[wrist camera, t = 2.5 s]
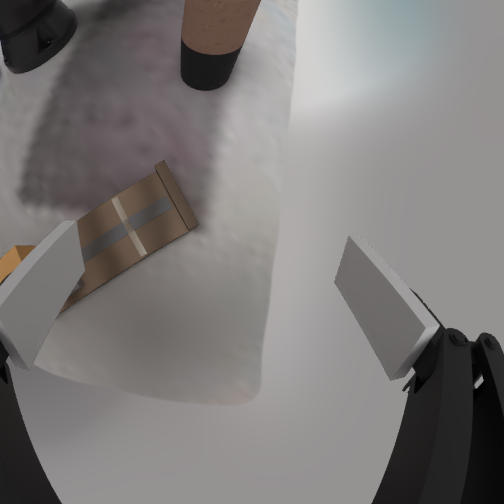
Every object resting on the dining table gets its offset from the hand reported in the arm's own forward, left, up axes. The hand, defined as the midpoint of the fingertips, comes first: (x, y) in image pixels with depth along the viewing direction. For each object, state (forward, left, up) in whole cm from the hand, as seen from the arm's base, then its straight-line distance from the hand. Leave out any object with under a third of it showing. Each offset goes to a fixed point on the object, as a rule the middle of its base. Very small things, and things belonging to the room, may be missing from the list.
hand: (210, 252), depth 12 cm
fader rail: (-11, +1, -21) cm, 24 cm away
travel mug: (+1, +26, -21) cm, 33 cm away
